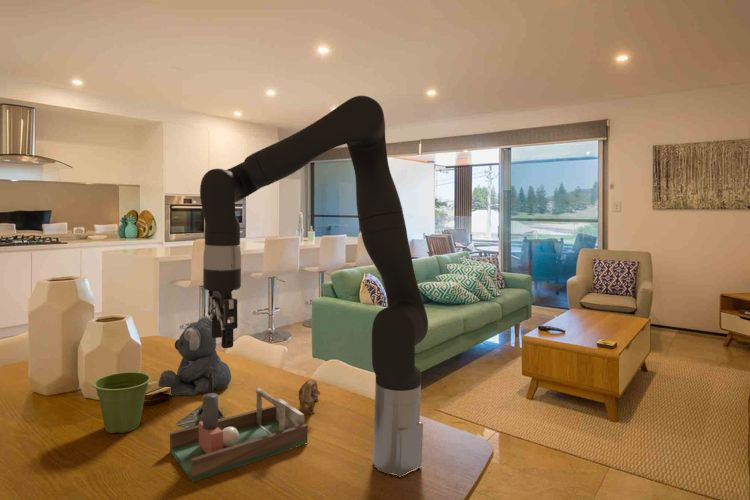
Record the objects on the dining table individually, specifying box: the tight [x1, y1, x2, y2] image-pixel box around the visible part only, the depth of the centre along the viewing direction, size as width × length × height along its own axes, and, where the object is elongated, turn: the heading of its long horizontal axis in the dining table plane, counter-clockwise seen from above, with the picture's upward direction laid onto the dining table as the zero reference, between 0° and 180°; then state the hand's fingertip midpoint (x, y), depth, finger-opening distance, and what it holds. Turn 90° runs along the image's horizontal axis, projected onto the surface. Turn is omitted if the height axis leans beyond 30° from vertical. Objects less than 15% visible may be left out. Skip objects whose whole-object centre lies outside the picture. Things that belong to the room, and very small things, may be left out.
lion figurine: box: [298, 378, 321, 415], centre depth 125 cm, size 15×5×9 cm, turn 8°
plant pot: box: [92, 371, 152, 434], centre depth 111 cm, size 12×12×11 cm
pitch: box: [169, 387, 309, 483], centre depth 103 cm, size 14×25×10 cm, turn 130°
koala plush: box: [157, 315, 232, 397], centre depth 137 cm, size 17×18×20 cm
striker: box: [199, 392, 223, 454], centre depth 99 cm, size 7×3×12 cm, turn 40°
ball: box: [222, 427, 239, 447], centre depth 102 cm, size 4×4×4 cm
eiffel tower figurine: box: [175, 365, 226, 429], centre depth 119 cm, size 15×10×13 cm
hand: (221, 342), depth 102 cm, fingers open, 8 cm apart
